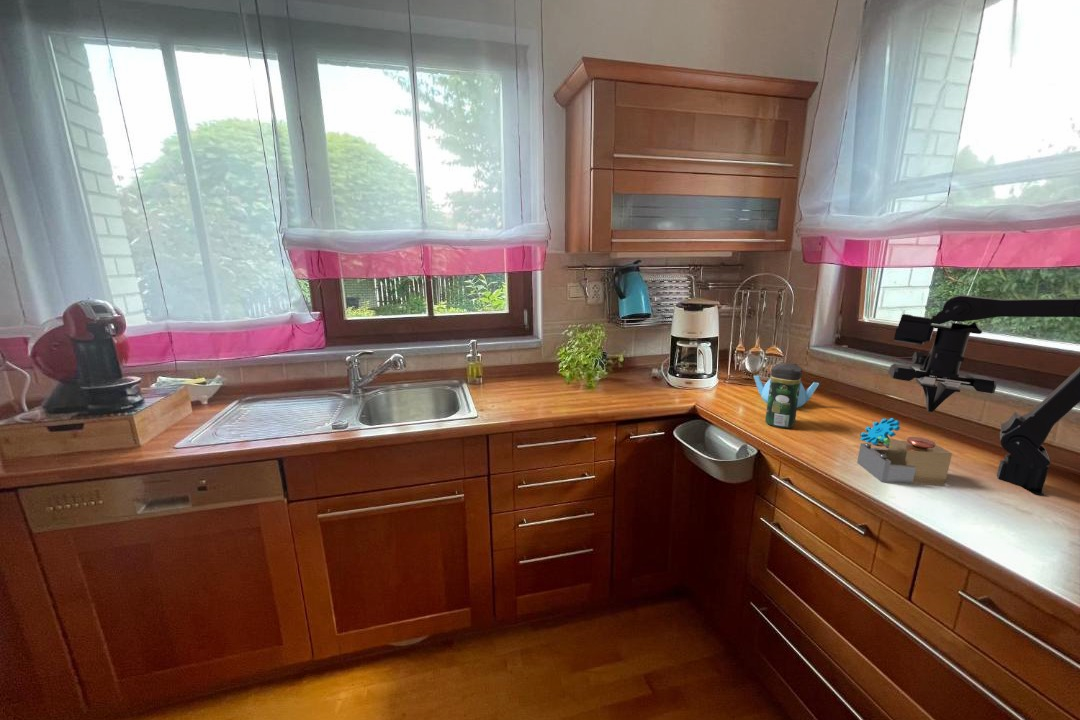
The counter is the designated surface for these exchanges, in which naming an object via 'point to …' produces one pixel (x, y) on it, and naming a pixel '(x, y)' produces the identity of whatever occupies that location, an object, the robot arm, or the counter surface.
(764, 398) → the teapot
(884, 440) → the gear
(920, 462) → the tan box
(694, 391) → the counter surface
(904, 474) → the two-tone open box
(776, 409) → the coffee jar
